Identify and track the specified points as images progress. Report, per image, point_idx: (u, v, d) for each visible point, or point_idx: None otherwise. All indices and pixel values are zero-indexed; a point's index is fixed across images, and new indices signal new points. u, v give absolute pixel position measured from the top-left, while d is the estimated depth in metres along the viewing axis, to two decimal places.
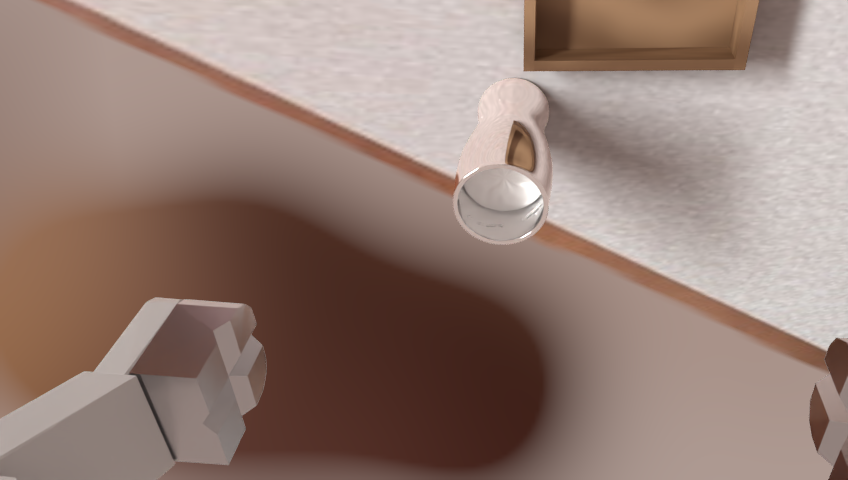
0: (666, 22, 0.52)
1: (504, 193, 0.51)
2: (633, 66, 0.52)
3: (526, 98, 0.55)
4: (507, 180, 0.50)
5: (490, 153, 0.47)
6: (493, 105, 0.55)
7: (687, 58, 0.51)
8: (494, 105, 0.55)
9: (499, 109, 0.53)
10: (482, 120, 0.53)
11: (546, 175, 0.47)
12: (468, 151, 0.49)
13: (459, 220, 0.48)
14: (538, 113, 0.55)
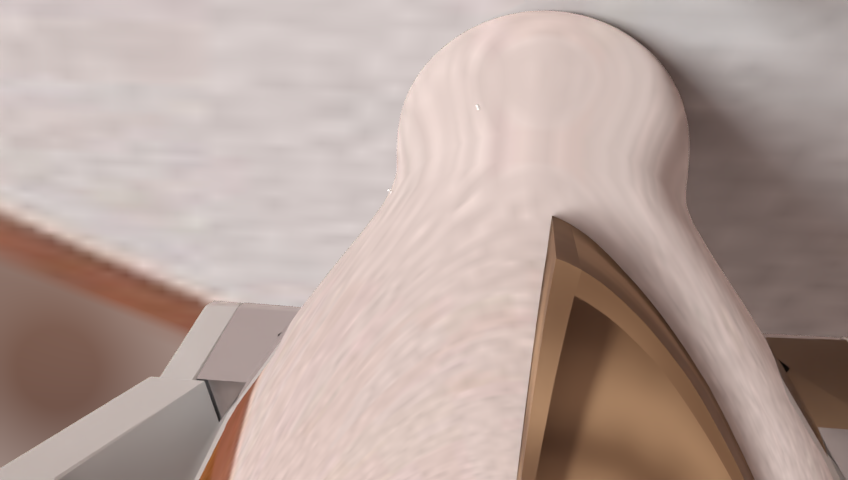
0: None
1: None
2: None
3: (610, 99, 0.11)
4: None
5: None
6: (445, 134, 0.11)
7: None
8: (449, 132, 0.11)
9: (471, 163, 0.09)
10: (368, 230, 0.09)
11: None
12: None
13: None
14: (673, 175, 0.11)
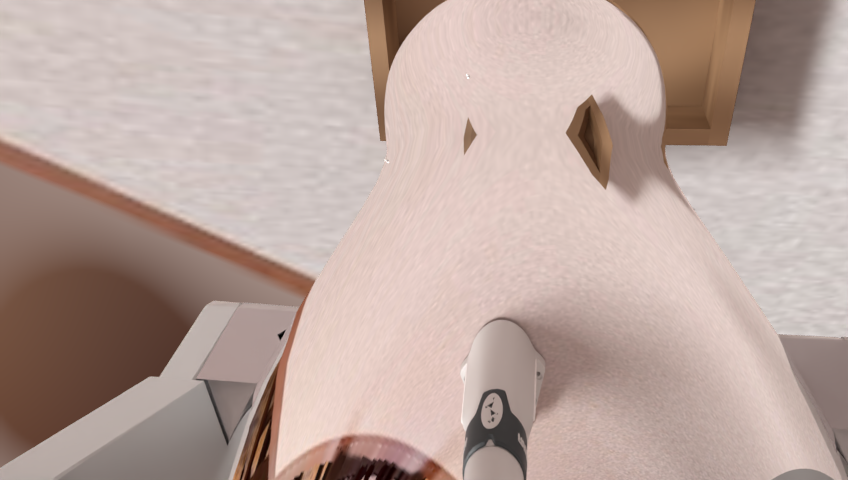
0: None
1: None
2: None
3: (594, 64, 0.12)
4: None
5: None
6: (438, 104, 0.11)
7: None
8: (442, 102, 0.11)
9: (468, 134, 0.10)
10: (374, 202, 0.09)
11: None
12: None
13: None
14: (655, 135, 0.12)
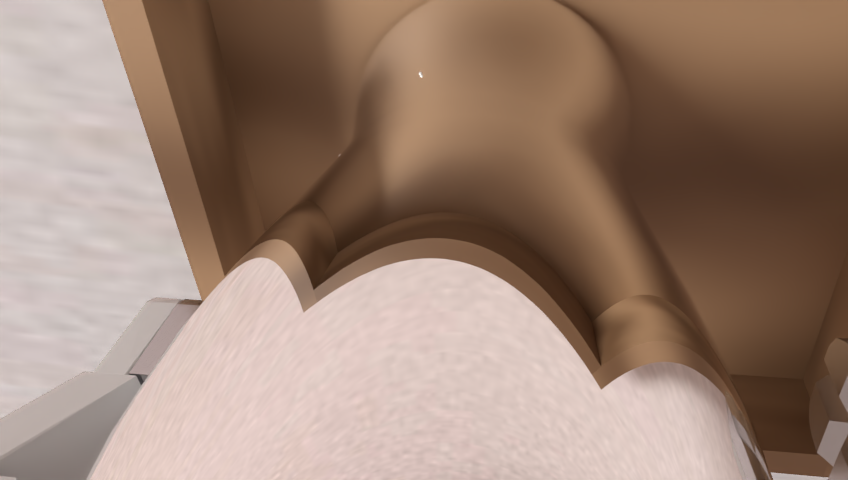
0: None
1: None
2: None
3: (545, 64, 0.12)
4: None
5: None
6: (390, 100, 0.12)
7: None
8: (393, 98, 0.11)
9: (407, 119, 0.10)
10: (312, 184, 0.09)
11: None
12: None
13: None
14: (605, 132, 0.12)
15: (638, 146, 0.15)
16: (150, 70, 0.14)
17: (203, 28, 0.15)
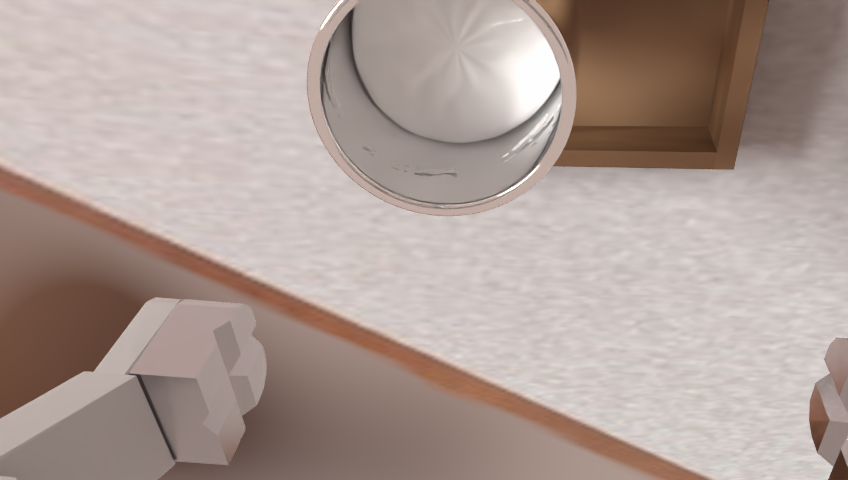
0: (603, 86, 0.31)
1: (460, 93, 0.21)
2: None
3: None
4: (466, 55, 0.20)
5: None
6: None
7: (636, 147, 0.30)
8: None
9: None
10: None
11: (567, 15, 0.17)
12: None
13: (332, 151, 0.18)
14: None
15: None
16: None
17: None
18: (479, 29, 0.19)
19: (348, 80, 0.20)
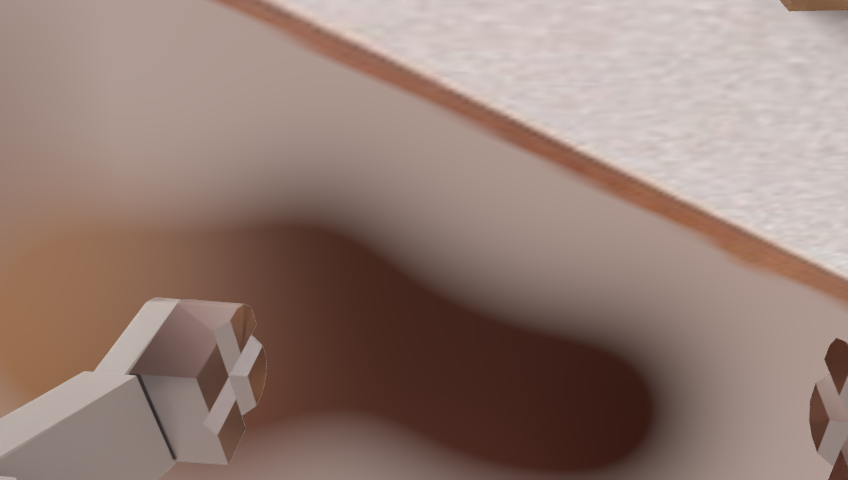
0: None
1: None
2: None
3: None
4: None
5: None
6: None
7: None
8: None
9: None
10: None
11: None
12: None
13: None
14: None
15: None
16: None
17: None
18: None
19: None
